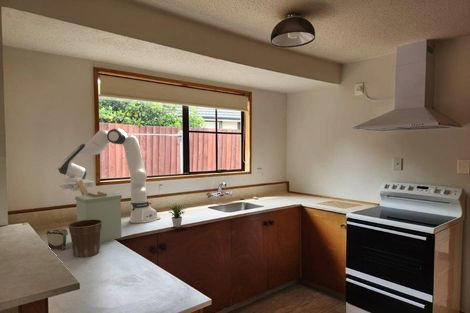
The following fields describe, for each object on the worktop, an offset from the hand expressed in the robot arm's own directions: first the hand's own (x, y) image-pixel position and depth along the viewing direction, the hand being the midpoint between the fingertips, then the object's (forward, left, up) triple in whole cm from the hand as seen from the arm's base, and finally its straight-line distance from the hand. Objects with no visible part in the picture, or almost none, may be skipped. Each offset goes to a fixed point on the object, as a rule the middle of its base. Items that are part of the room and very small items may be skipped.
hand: (81, 186), depth 206 cm
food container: (+22, +31, -30) cm, 48 cm away
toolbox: (0, +29, -29) cm, 41 cm away
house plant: (-48, +40, -30) cm, 69 cm away
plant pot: (+15, +51, -30) cm, 61 cm away
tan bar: (0, +3, -4) cm, 5 cm away
